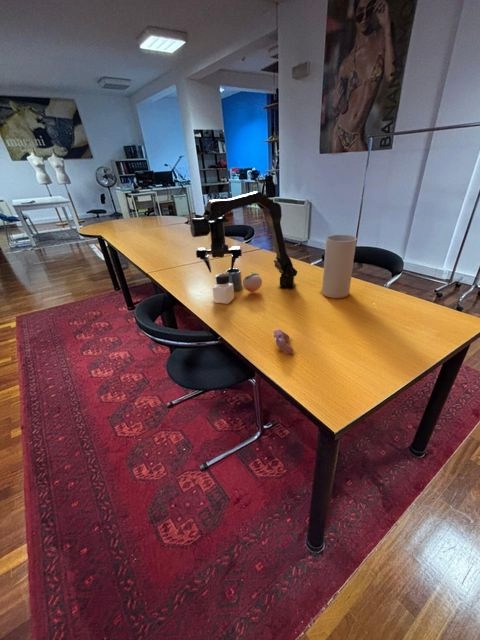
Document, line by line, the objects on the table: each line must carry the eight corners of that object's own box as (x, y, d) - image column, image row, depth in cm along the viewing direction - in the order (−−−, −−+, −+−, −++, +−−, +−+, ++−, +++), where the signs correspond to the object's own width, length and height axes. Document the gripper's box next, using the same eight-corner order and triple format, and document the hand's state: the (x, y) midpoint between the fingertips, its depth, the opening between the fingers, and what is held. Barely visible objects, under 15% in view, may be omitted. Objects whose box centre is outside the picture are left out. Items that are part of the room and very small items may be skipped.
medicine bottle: (234, 298, 137) (232, 272, 131) (228, 304, 132) (225, 278, 125) (220, 296, 140) (218, 271, 133) (213, 302, 134) (210, 276, 127)
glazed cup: (244, 286, 150) (242, 268, 145) (238, 291, 144) (237, 273, 139) (230, 285, 152) (229, 267, 147) (225, 290, 146) (223, 272, 141)
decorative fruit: (253, 297, 137) (253, 276, 132) (240, 293, 142) (239, 273, 136) (266, 291, 144) (265, 271, 138) (252, 287, 148) (251, 268, 142)
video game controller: (278, 343, 105) (269, 328, 102) (290, 337, 105) (281, 322, 101) (282, 359, 97) (273, 343, 94) (295, 353, 96) (285, 337, 93)
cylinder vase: (316, 294, 138) (320, 238, 125) (330, 286, 146) (336, 233, 132) (340, 301, 131) (347, 242, 118) (353, 292, 139) (362, 237, 125)
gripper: (191, 239, 113) (197, 279, 122) (240, 238, 114) (242, 277, 122) (195, 233, 122) (200, 270, 131) (240, 232, 123) (242, 269, 132)
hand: (221, 272), depth 129 cm, fingers open, 9 cm apart
